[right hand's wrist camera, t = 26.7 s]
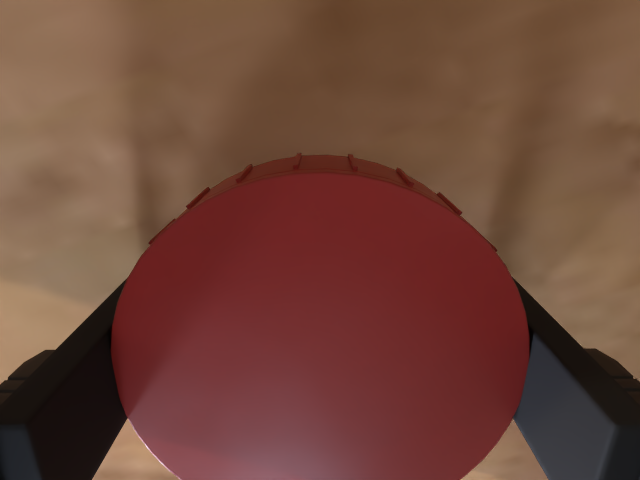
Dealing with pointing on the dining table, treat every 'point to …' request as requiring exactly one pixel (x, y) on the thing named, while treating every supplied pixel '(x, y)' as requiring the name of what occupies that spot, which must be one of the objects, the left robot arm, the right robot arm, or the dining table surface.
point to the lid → (320, 330)
